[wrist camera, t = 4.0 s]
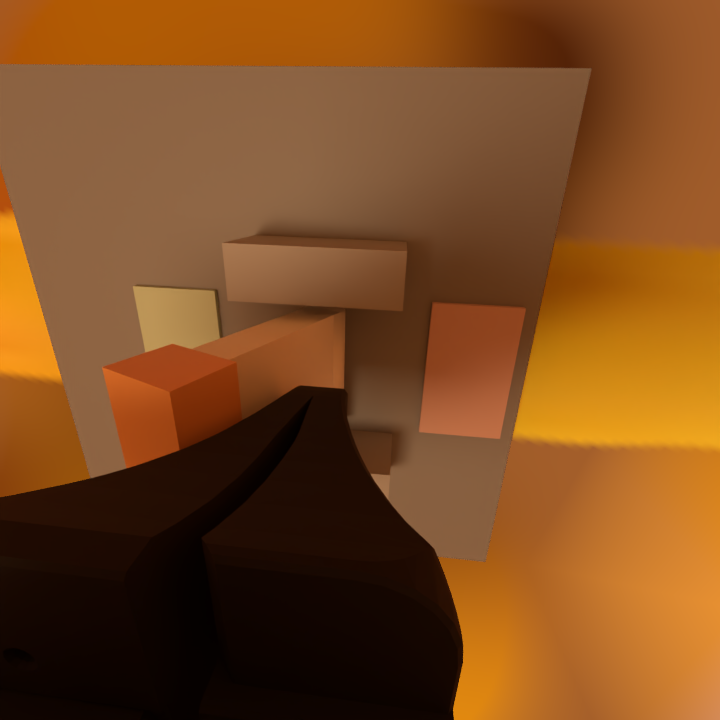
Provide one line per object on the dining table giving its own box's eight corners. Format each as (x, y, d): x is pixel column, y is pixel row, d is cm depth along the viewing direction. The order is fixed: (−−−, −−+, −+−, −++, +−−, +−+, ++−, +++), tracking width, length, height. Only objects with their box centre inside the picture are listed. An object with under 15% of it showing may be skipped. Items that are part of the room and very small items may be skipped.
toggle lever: (361, 306, 13) (169, 391, 7) (357, 432, 14) (202, 583, 9) (310, 297, 14) (102, 367, 8) (312, 417, 15) (145, 546, 10)
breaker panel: (552, 95, 13) (645, 30, 8) (474, 511, 20) (497, 617, 15) (52, 89, 15) (-134, 31, 10) (141, 478, 22) (60, 564, 16)
